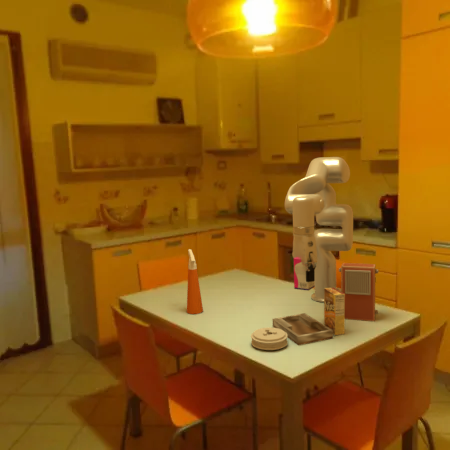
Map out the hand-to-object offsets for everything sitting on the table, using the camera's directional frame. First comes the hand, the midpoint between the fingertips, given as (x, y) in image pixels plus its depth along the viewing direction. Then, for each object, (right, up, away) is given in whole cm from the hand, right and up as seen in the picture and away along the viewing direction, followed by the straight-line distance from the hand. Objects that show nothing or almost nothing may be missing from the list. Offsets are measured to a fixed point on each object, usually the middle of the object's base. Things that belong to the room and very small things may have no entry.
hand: (304, 278), depth 172 cm
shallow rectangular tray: (0, -20, +3) cm, 20 cm away
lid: (-13, -23, -6) cm, 27 cm away
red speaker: (+24, -17, +15) cm, 33 cm away
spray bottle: (-42, -18, +33) cm, 56 cm away
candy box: (+12, -20, +3) cm, 23 cm away
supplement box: (0, -4, +1) cm, 4 cm away
